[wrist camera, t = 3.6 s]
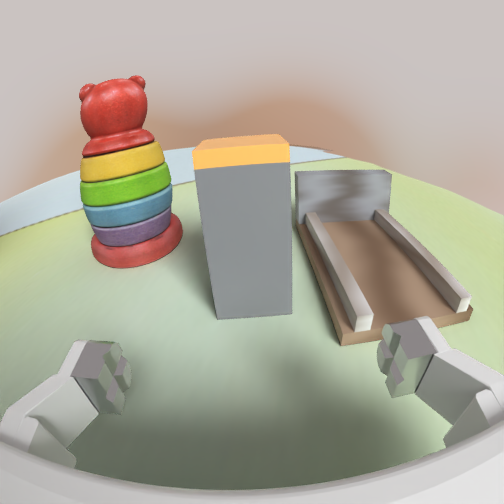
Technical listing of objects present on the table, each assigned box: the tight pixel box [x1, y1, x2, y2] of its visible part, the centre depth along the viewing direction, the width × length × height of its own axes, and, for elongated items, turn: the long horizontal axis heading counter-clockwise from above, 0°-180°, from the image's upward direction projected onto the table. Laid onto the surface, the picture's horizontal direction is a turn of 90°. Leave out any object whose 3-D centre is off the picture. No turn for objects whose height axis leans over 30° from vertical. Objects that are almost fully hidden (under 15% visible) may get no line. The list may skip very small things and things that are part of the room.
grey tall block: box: [192, 134, 292, 319], centre depth 20 cm, size 5×5×11 cm
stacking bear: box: [79, 76, 183, 268], centre depth 27 cm, size 11×10×18 cm
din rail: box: [295, 170, 473, 346], centre depth 23 cm, size 10×18×6 cm, turn 2°
